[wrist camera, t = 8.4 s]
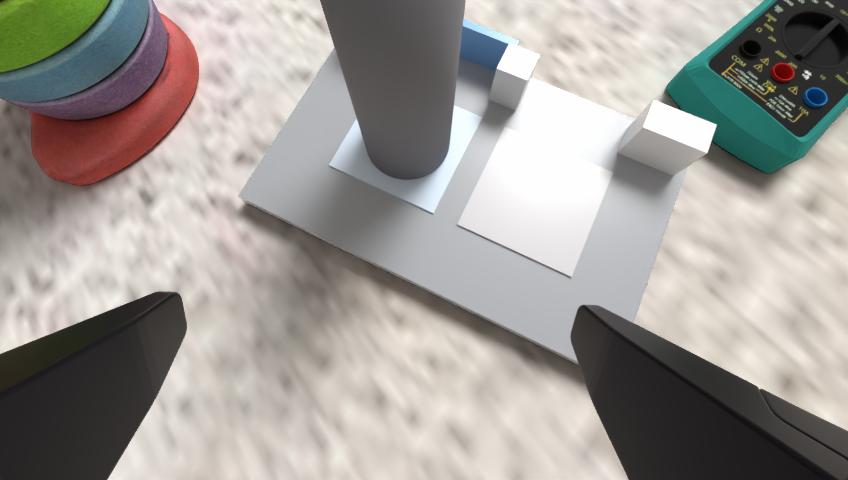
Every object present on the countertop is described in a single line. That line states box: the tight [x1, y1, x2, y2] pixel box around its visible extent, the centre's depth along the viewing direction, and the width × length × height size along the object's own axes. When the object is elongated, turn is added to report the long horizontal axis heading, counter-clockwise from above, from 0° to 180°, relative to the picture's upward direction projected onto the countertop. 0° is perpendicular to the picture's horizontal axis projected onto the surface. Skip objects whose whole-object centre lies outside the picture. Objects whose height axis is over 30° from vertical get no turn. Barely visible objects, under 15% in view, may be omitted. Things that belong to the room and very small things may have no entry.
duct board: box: [238, 19, 717, 365], centre depth 19 cm, size 20×13×4 cm, turn 64°
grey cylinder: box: [320, 0, 465, 180], centre depth 14 cm, size 4×4×14 cm
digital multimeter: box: [666, 0, 848, 173], centre depth 22 cm, size 7×15×3 cm, turn 131°
